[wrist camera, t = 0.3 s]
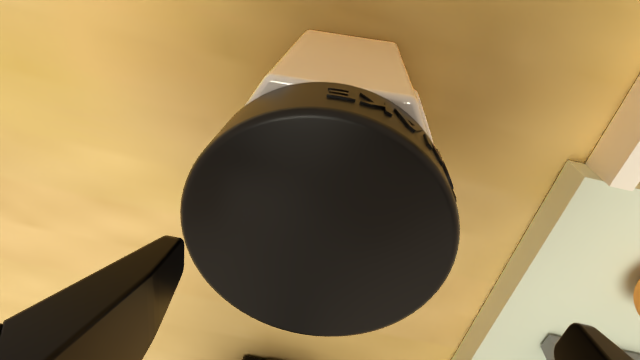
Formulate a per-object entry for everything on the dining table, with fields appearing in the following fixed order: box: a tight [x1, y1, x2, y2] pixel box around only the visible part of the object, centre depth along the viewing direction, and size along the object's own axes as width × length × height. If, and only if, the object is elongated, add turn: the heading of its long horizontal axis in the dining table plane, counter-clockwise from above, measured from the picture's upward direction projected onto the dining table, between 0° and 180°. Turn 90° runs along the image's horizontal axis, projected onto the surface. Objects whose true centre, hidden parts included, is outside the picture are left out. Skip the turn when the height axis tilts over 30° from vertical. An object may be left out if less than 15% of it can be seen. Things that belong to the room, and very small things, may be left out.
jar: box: [180, 30, 460, 336], centre depth 16 cm, size 9×8×12 cm
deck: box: [451, 160, 640, 360], centre depth 26 cm, size 21×14×2 cm, turn 169°
